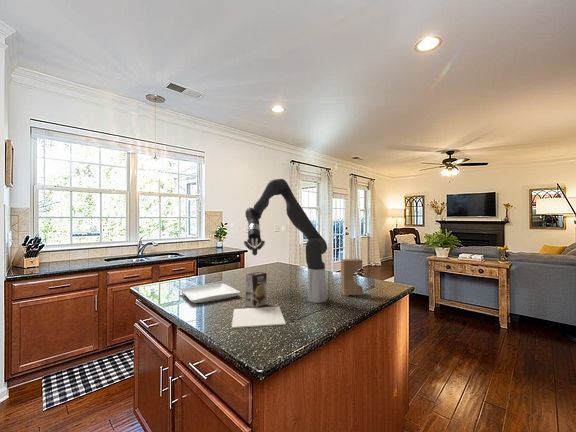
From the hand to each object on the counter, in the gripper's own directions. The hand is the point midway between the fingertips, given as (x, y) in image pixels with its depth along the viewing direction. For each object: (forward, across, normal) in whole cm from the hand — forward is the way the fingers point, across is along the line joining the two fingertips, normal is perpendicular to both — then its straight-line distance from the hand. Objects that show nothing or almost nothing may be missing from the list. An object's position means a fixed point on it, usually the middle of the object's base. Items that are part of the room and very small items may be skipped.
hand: (254, 254), depth 160 cm
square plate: (+16, -26, +18) cm, 35 cm away
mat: (+42, 0, -9) cm, 43 cm away
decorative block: (+23, +55, +10) cm, 60 cm away
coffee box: (+30, 0, +3) cm, 30 cm away
